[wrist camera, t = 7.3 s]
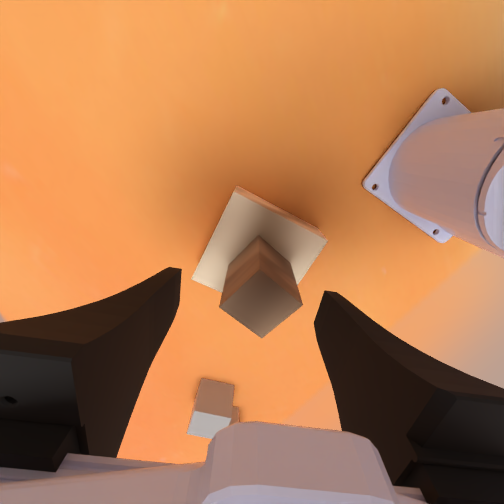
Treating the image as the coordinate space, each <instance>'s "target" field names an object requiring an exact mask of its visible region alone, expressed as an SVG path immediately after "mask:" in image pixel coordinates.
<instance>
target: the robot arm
mask: <svg viewBox="0 0 504 504" xmlns="http://www.w3.org/2000/svg"><path fill="white" fill-rule="evenodd" d="M443 98H445V99H446V102H445V104H444V105H443V104H442V100H443ZM374 184H376V188H375V189H372V186H373V185H374ZM362 185H363V187H364V188H365V189H366V190H367V191H369V192H370V193H371V194H373V195H374V196H376V197H377V198H378V199H380V200H381V201H382V202H384V203H385V204H387V205H388V206H389V207H391V208H392V209H393V210H395V211H396V212H397V213H399V214H400V215H402V216H403V217H404V218H406V219H407V220H408V221H410V222H411V223H413V224H414V225H415V226H417V227H418V228H419V229H421V230H422V231H423V232H425V233H426V234H428V235H429V236H430V237H432V238H433V239H434V240H436V241H437V242H439V243H445V242H446V241H448V240H449V239H450V238H451V237H452V236H455V237H458V238H460V239H462V240H464V241H466V242H469V243H471V244H473V245H475V246H478V247H480V248H482V249H484V250H486V251H489V252H491V253H493V254H495V255H498V256H500V257H502V258H504V108H501V109H494V110H488V111H481V112H474V113H471V112H470V111H469V110H468V109H467V108H466V107H465V106H464V105H463V104H462V103H461V102H459V101H458V100H457V99H456V98H455V97H454V96H453V95H452V94H451V93H450V92H449V91H448V90H447V89H445V88H440V89H437V90H435V91H434V92H433V93H432V94H431V95H430V97H429V98H428V99H427V100H426V102H425V103H424V104H423V106H422V107H421V108H420V109H419V111H418V112H417V113H416V114H415V116H414V117H413V118H412V119H411V121H410V122H409V123H408V125H407V126H406V127H405V128H404V130H403V131H402V132H401V133H400V135H399V136H398V137H397V139H396V140H395V141H394V142H393V144H392V145H391V146H390V147H389V149H388V150H387V151H386V152H385V154H384V155H383V156H382V158H381V159H380V160H379V161H378V163H377V164H376V165H375V166H374V168H373V169H372V170H371V171H370V173H369V174H368V175H367V177H366V178H365V179H364V181H363V184H362ZM435 229H436V231H435V233H433V231H434V230H435ZM181 271H182V269H179V268H172V267H168V268H166V269H164V270H162V271H161V272H159V273H157V274H155V275H154V276H152V277H150V278H148V279H146V280H145V281H143V282H141V283H139V284H137V285H135V286H133V287H131V288H129V289H127V290H125V291H122V292H120V293H118V294H115V295H113V296H110V297H108V298H105V299H102V300H100V301H97V302H93V303H90V304H87V305H84V306H80V307H77V308H74V309H70V310H66V311H62V312H58V313H53V314H48V315H44V316H39V317H33V318H27V319H21V320H15V321H9V322H2V323H0V504H504V389H503V388H500V387H498V386H496V385H493V384H490V383H488V382H486V381H483V380H481V379H478V378H476V377H473V376H470V375H468V374H466V373H464V372H462V371H460V370H457V369H455V368H453V367H451V366H449V365H447V364H444V363H442V362H440V361H438V360H436V359H434V358H433V357H431V356H429V355H427V354H425V353H423V352H421V351H419V350H418V349H416V348H414V347H412V346H411V345H409V344H407V343H406V342H404V341H402V340H401V339H399V338H398V337H396V336H395V335H393V334H392V333H390V332H389V331H387V330H386V329H384V328H383V327H382V326H380V325H379V324H377V323H376V322H375V321H373V320H372V319H371V318H369V317H368V316H367V315H366V314H364V313H363V312H362V311H360V310H359V309H358V308H357V307H355V306H354V305H353V304H352V303H350V302H349V301H348V300H347V299H345V298H344V297H343V296H341V295H340V294H338V293H337V292H331V291H324V294H323V297H322V300H321V303H320V306H319V309H318V312H317V315H316V318H315V321H314V327H315V333H316V338H317V342H318V345H319V348H320V351H321V354H322V357H323V360H324V363H325V366H326V369H327V372H328V375H329V378H330V381H331V384H332V388H333V391H334V395H335V400H336V404H337V409H338V413H339V418H340V423H341V428H342V431H337V430H328V429H320V428H310V427H302V426H293V425H284V424H275V423H267V422H258V421H253V422H236V423H234V424H232V425H230V426H228V427H225V428H223V429H221V430H219V431H218V432H217V433H216V434H215V436H214V437H213V439H212V440H211V442H210V444H209V445H208V451H207V458H206V461H205V462H197V463H187V464H171V463H161V462H151V461H141V460H131V459H121V458H116V457H117V454H118V451H119V448H120V445H121V442H122V439H123V437H124V434H125V431H126V428H127V425H128V423H129V420H130V417H131V414H132V412H133V409H134V406H135V404H136V401H137V398H138V396H139V393H140V390H141V388H142V385H143V383H144V380H145V378H146V375H147V373H148V370H149V368H150V366H151V364H152V361H153V359H154V357H155V355H156V353H157V352H158V350H159V348H160V346H161V344H162V342H163V340H164V338H165V336H166V334H167V332H168V330H169V328H170V326H171V324H172V322H173V320H174V318H175V315H176V312H177V309H178V306H179V302H180V286H181Z"/></svg>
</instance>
